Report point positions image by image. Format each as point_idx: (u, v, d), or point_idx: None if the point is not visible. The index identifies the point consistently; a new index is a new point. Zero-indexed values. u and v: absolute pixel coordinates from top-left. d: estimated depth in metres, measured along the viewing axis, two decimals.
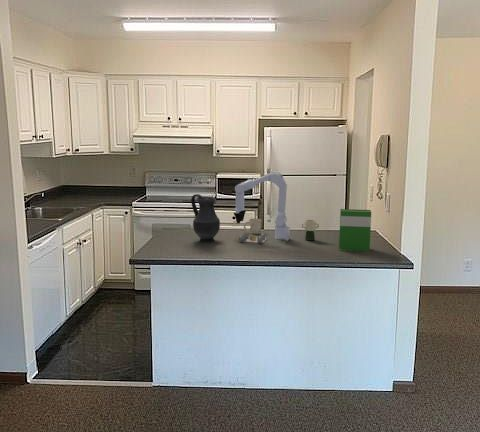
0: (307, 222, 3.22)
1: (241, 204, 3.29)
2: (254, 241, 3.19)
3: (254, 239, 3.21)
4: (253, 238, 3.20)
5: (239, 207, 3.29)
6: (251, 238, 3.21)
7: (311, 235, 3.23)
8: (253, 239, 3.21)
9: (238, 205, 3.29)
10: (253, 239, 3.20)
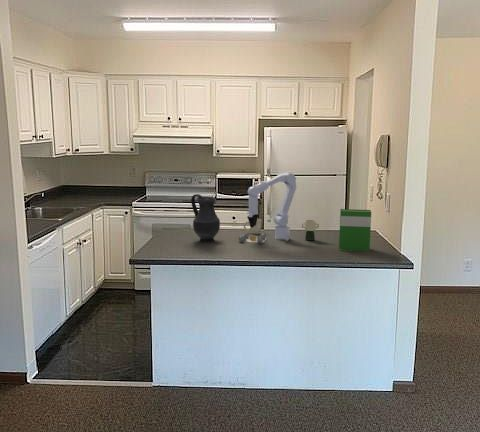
0: (307, 222, 3.22)
1: (254, 208, 3.16)
2: (254, 241, 3.19)
3: (254, 239, 3.21)
4: (253, 238, 3.20)
5: (252, 211, 3.16)
6: (251, 238, 3.21)
7: (311, 235, 3.23)
8: (253, 239, 3.21)
9: (251, 209, 3.16)
10: (253, 239, 3.20)
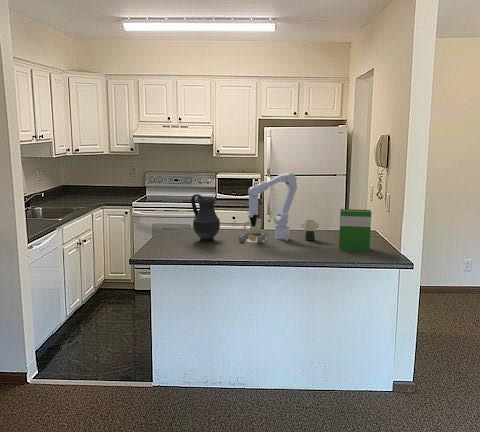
0: (307, 222, 3.22)
1: (255, 208, 3.17)
2: (254, 241, 3.19)
3: (254, 239, 3.21)
4: (253, 238, 3.20)
5: (253, 211, 3.17)
6: (251, 238, 3.21)
7: (311, 235, 3.23)
8: (253, 239, 3.21)
9: (252, 209, 3.17)
10: (253, 239, 3.20)
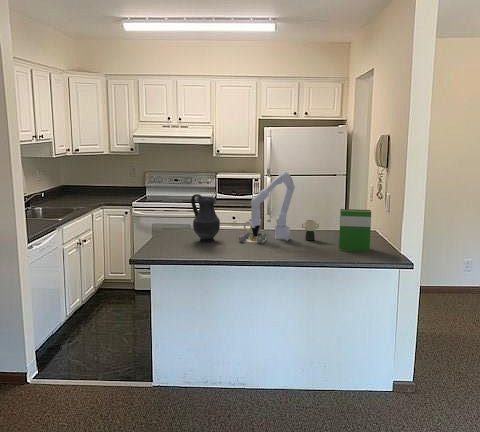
0: (307, 222, 3.22)
1: (257, 218, 3.24)
2: (254, 241, 3.19)
3: (254, 239, 3.21)
4: (253, 238, 3.20)
5: (255, 221, 3.24)
6: (251, 238, 3.21)
7: (311, 235, 3.23)
8: (253, 239, 3.21)
9: (254, 219, 3.24)
10: (253, 239, 3.20)
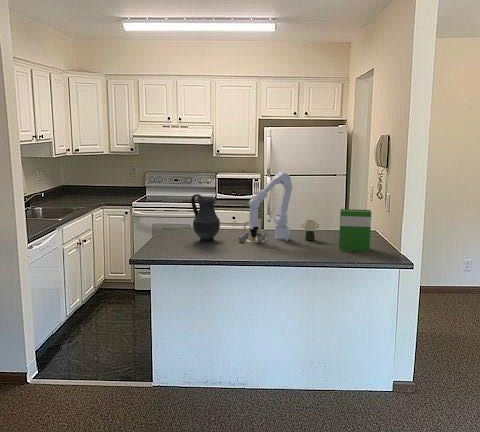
0: (307, 222, 3.22)
1: (255, 220, 3.20)
2: (254, 241, 3.19)
3: (253, 239, 3.19)
4: (252, 238, 3.19)
5: (253, 223, 3.20)
6: (250, 238, 3.19)
7: (311, 235, 3.23)
8: (252, 239, 3.19)
9: (252, 221, 3.20)
10: (252, 240, 3.19)
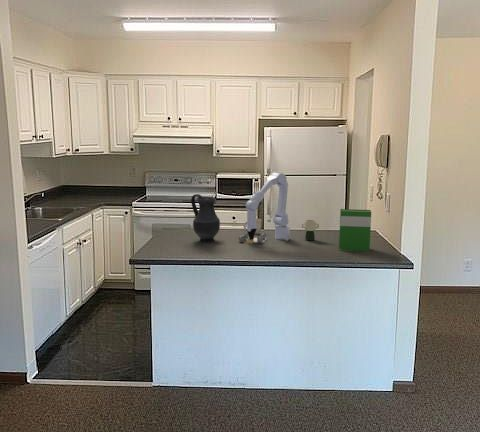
0: (307, 222, 3.22)
1: (253, 221, 3.13)
2: (254, 241, 3.19)
3: (250, 242, 3.13)
4: (249, 241, 3.13)
5: (251, 225, 3.14)
6: (247, 241, 3.14)
7: (311, 235, 3.23)
8: (249, 242, 3.13)
9: (250, 222, 3.14)
10: (249, 242, 3.13)
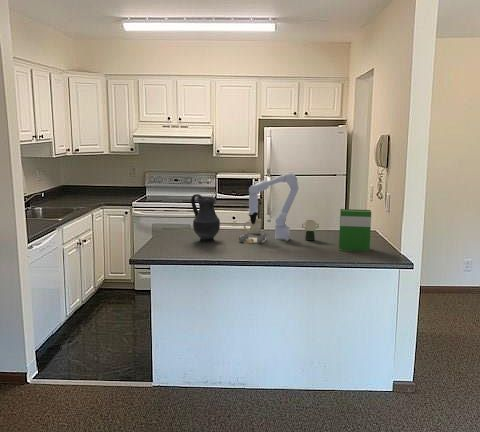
0: (307, 222, 3.22)
1: (255, 205, 3.25)
2: (254, 241, 3.19)
3: (250, 242, 3.13)
4: (249, 241, 3.13)
5: (253, 208, 3.25)
6: (247, 241, 3.14)
7: (311, 235, 3.23)
8: (249, 242, 3.13)
9: (252, 206, 3.25)
10: (249, 242, 3.13)
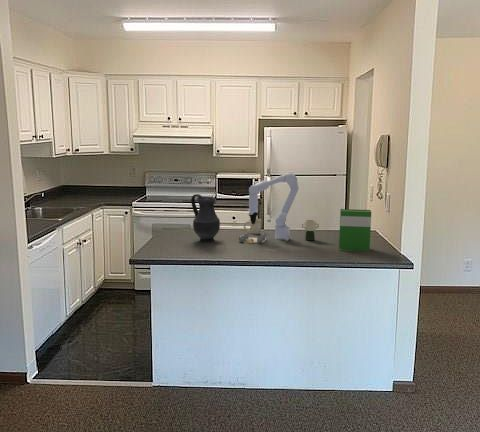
0: (307, 222, 3.22)
1: (255, 205, 3.25)
2: (254, 241, 3.19)
3: (250, 242, 3.13)
4: (249, 241, 3.13)
5: (253, 208, 3.25)
6: (247, 241, 3.14)
7: (311, 235, 3.23)
8: (249, 242, 3.13)
9: (252, 206, 3.25)
10: (249, 242, 3.13)
